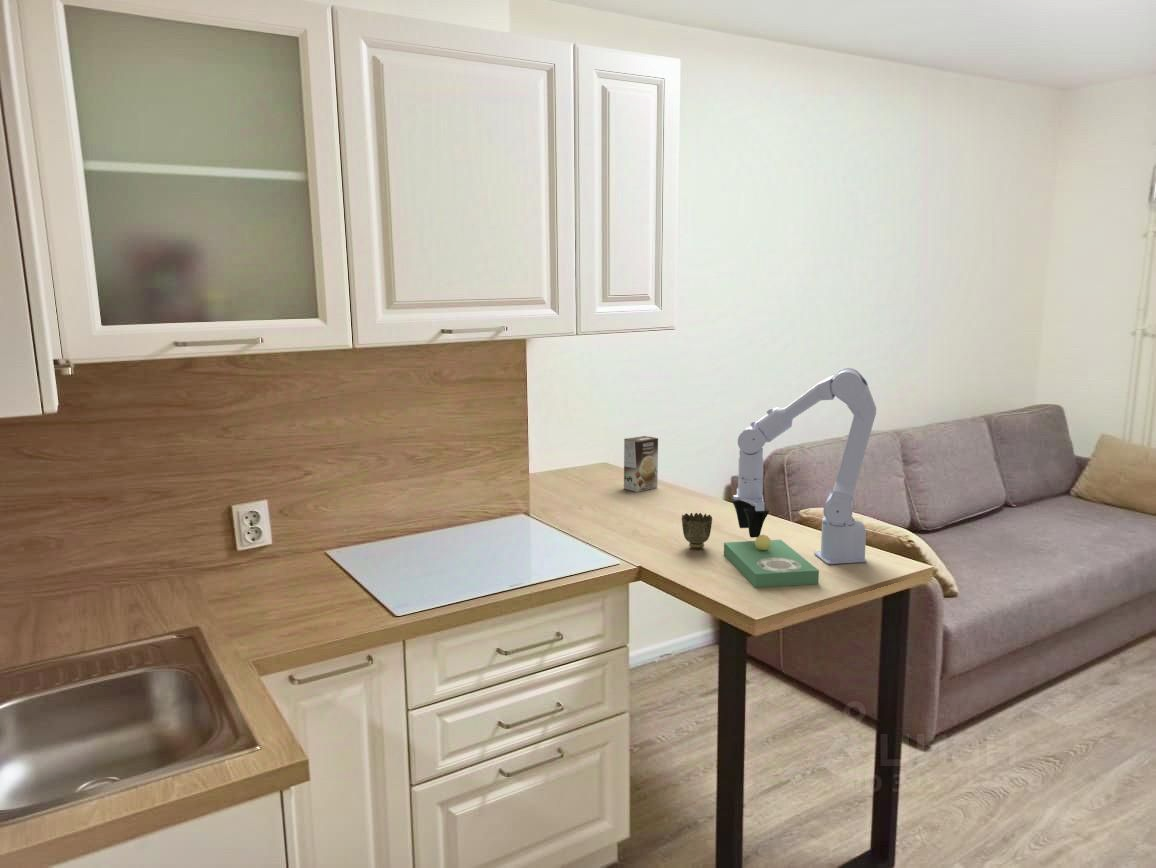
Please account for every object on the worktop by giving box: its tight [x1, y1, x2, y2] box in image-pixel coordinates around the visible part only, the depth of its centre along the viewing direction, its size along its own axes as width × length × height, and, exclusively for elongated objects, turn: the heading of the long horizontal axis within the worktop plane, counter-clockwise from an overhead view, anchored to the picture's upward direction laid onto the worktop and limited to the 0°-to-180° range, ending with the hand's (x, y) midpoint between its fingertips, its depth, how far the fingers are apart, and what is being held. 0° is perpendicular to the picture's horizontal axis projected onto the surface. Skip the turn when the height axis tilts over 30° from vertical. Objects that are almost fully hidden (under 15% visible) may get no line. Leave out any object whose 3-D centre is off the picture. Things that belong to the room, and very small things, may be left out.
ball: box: [754, 534, 772, 551], centre depth 191 cm, size 4×4×4 cm
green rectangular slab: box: [723, 539, 820, 589], centre depth 187 cm, size 14×22×3 cm, turn 8°
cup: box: [681, 512, 713, 550], centre depth 202 cm, size 8×7×8 cm
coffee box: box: [623, 435, 659, 493], centre depth 260 cm, size 9×6×16 cm
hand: (749, 532), depth 200 cm, fingers open, 7 cm apart
